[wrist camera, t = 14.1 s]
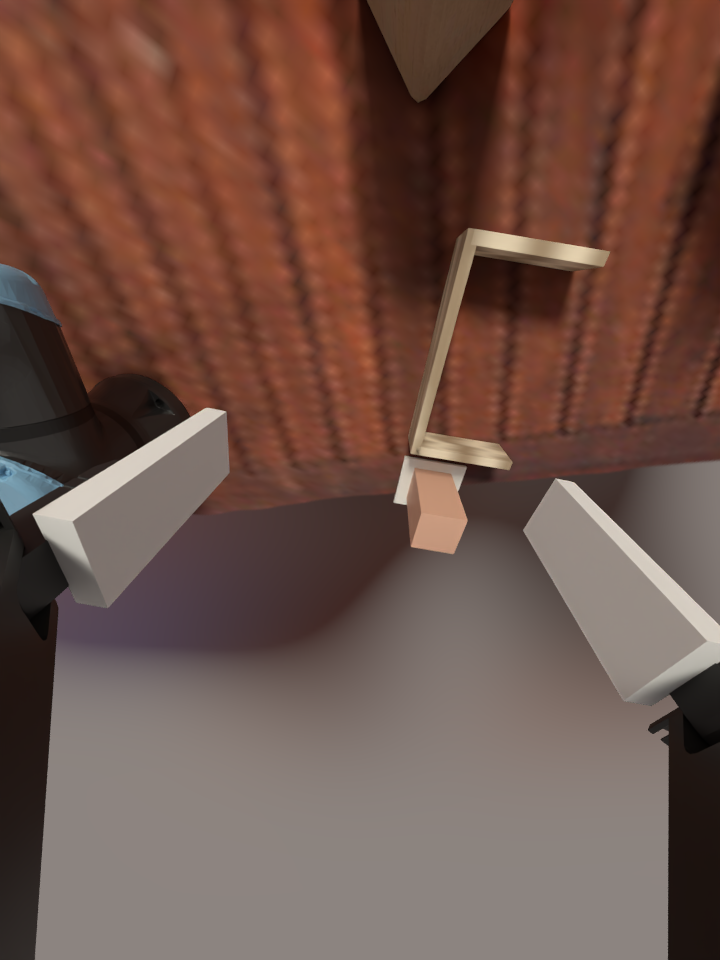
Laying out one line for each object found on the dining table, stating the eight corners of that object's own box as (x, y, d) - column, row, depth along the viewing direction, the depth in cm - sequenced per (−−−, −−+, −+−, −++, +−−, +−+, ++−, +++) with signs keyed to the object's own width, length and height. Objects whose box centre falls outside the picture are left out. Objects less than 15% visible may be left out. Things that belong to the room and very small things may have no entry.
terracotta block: (414, 467, 49) (421, 512, 39) (451, 473, 49) (467, 520, 39) (406, 497, 52) (410, 547, 42) (440, 503, 52) (453, 554, 42)
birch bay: (408, 436, 47) (410, 453, 42) (456, 238, 34) (468, 227, 29) (495, 451, 47) (509, 470, 42) (577, 258, 34) (610, 251, 29)
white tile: (393, 500, 53) (393, 502, 53) (404, 455, 48) (404, 457, 48) (449, 510, 53) (450, 512, 53) (466, 465, 48) (466, 467, 48)
